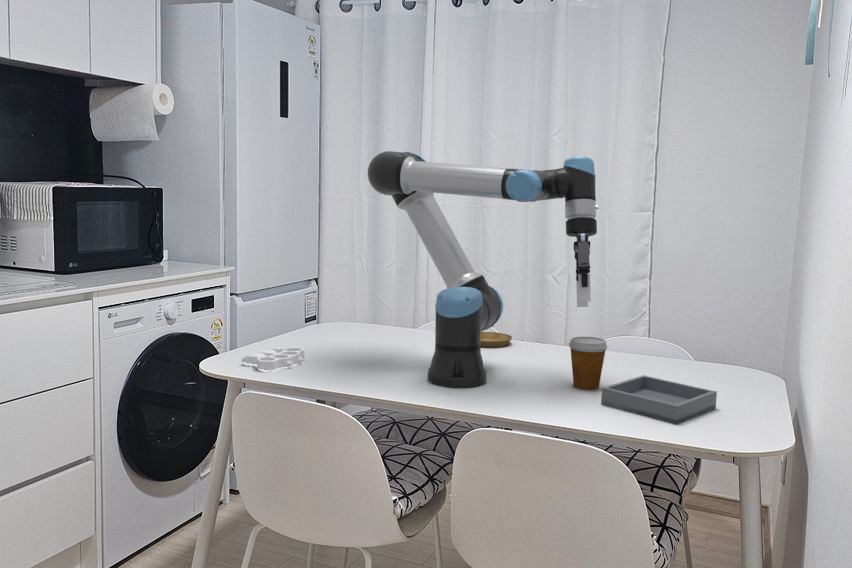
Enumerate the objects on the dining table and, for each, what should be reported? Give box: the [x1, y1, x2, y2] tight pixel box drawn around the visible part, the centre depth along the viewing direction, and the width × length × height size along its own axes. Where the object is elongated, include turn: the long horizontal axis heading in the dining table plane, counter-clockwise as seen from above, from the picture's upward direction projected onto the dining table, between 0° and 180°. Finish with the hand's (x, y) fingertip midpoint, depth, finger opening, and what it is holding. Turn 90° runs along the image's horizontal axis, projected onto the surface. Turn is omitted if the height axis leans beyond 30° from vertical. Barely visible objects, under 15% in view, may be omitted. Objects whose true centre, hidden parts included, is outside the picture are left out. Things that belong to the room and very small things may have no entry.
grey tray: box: [600, 375, 718, 425], centre depth 178 cm, size 19×18×4 cm
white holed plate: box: [241, 347, 305, 370], centre depth 212 cm, size 3×18×15 cm
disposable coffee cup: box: [568, 336, 608, 391], centre depth 194 cm, size 10×10×12 cm
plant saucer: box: [481, 331, 513, 348], centre depth 243 cm, size 15×15×3 cm
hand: (583, 304), depth 189 cm, fingers open, 13 cm apart
